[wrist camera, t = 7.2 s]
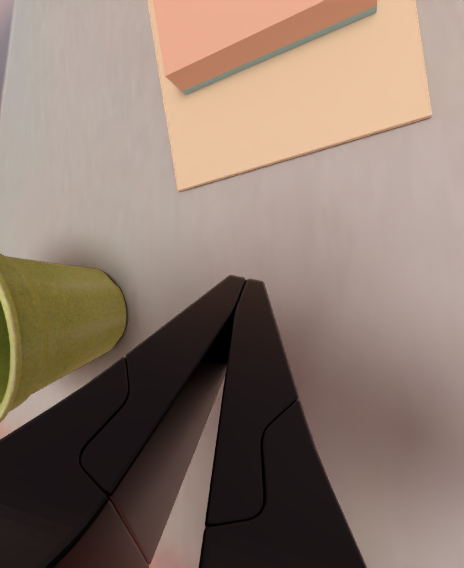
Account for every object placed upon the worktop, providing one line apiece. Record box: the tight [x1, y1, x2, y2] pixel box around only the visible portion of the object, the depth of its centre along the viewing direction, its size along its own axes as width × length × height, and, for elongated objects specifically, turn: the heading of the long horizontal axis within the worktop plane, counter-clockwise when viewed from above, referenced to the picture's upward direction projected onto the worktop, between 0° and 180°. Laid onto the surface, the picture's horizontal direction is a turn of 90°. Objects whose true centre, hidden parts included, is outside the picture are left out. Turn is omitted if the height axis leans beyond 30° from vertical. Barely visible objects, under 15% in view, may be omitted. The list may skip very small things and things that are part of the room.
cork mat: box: [147, 0, 432, 192], centre depth 16 cm, size 16×13×1 cm
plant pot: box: [0, 254, 126, 422], centre depth 18 cm, size 9×9×9 cm
